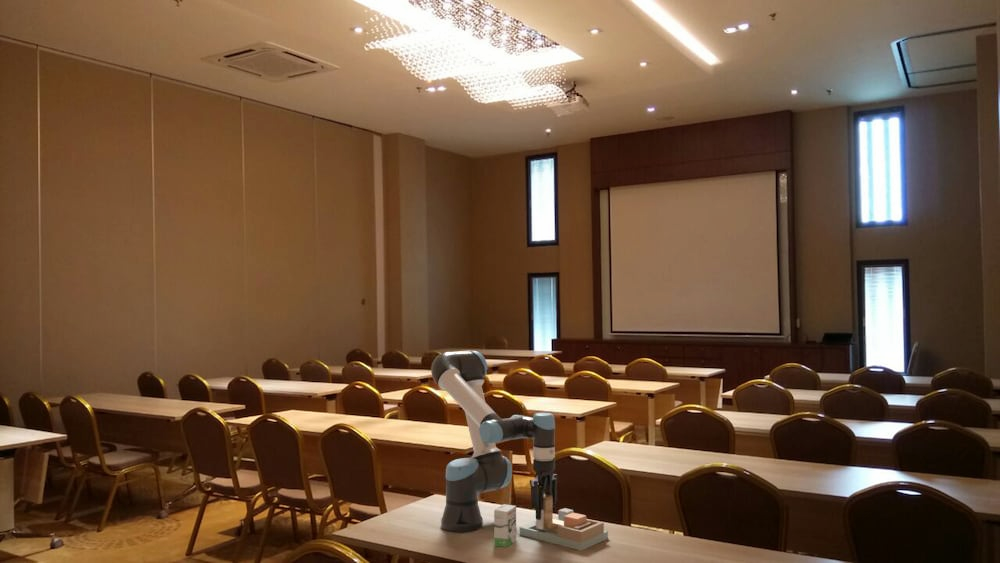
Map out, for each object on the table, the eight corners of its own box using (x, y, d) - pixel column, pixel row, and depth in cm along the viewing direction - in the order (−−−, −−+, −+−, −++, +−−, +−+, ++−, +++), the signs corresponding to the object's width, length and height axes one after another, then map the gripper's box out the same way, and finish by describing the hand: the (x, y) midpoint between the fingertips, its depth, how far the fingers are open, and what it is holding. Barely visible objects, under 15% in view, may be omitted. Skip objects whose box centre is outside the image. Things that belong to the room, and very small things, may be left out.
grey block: (558, 521, 268) (558, 510, 268) (564, 518, 271) (564, 508, 271) (567, 523, 266) (567, 512, 266) (573, 520, 269) (573, 510, 269)
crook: (533, 527, 250) (533, 495, 250) (550, 521, 257) (550, 490, 258) (576, 538, 239) (576, 504, 239) (591, 531, 246) (591, 498, 246)
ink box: (507, 547, 239) (507, 511, 239) (493, 545, 241) (493, 510, 241) (516, 540, 247) (516, 505, 247) (503, 538, 249) (503, 503, 249)
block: (563, 532, 247) (563, 516, 247) (573, 528, 251) (573, 512, 251) (577, 535, 243) (577, 519, 243) (586, 531, 247) (586, 515, 247)
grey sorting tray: (519, 534, 253) (519, 517, 253) (547, 523, 265) (547, 507, 265) (581, 550, 236) (581, 532, 236) (608, 538, 248) (607, 520, 248)
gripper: (537, 464, 242) (537, 535, 241) (567, 456, 255) (567, 523, 254) (520, 461, 246) (520, 530, 246) (550, 453, 259) (550, 519, 259)
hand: (544, 526), depth 250 cm, fingers closed on crook, 4 cm apart
